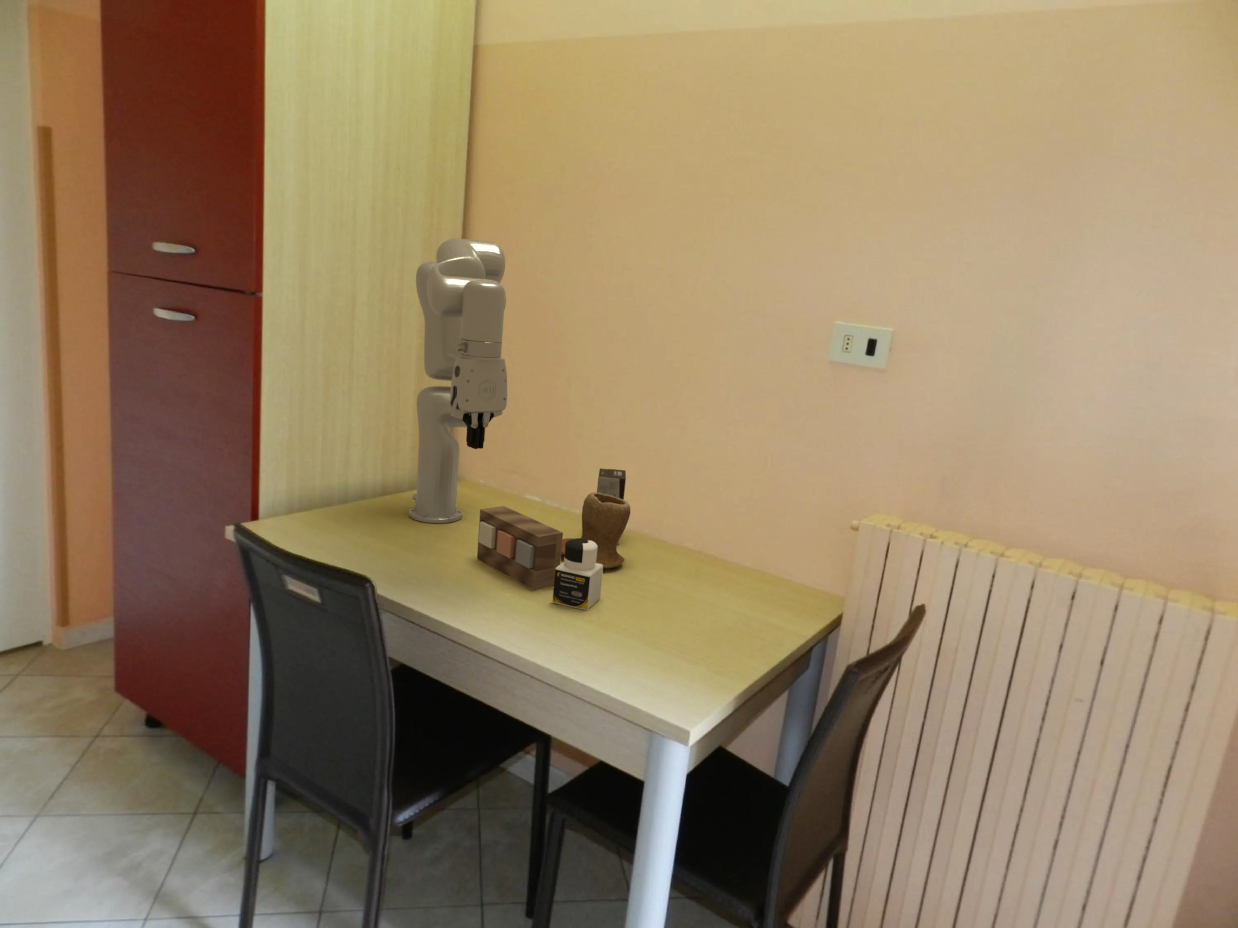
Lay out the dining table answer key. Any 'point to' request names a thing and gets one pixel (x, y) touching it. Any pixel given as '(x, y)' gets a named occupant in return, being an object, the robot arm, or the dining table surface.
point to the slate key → (525, 553)
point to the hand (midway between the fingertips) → (474, 447)
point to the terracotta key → (505, 543)
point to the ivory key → (487, 534)
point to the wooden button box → (522, 528)
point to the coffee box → (612, 483)
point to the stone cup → (604, 526)
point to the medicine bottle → (578, 575)
